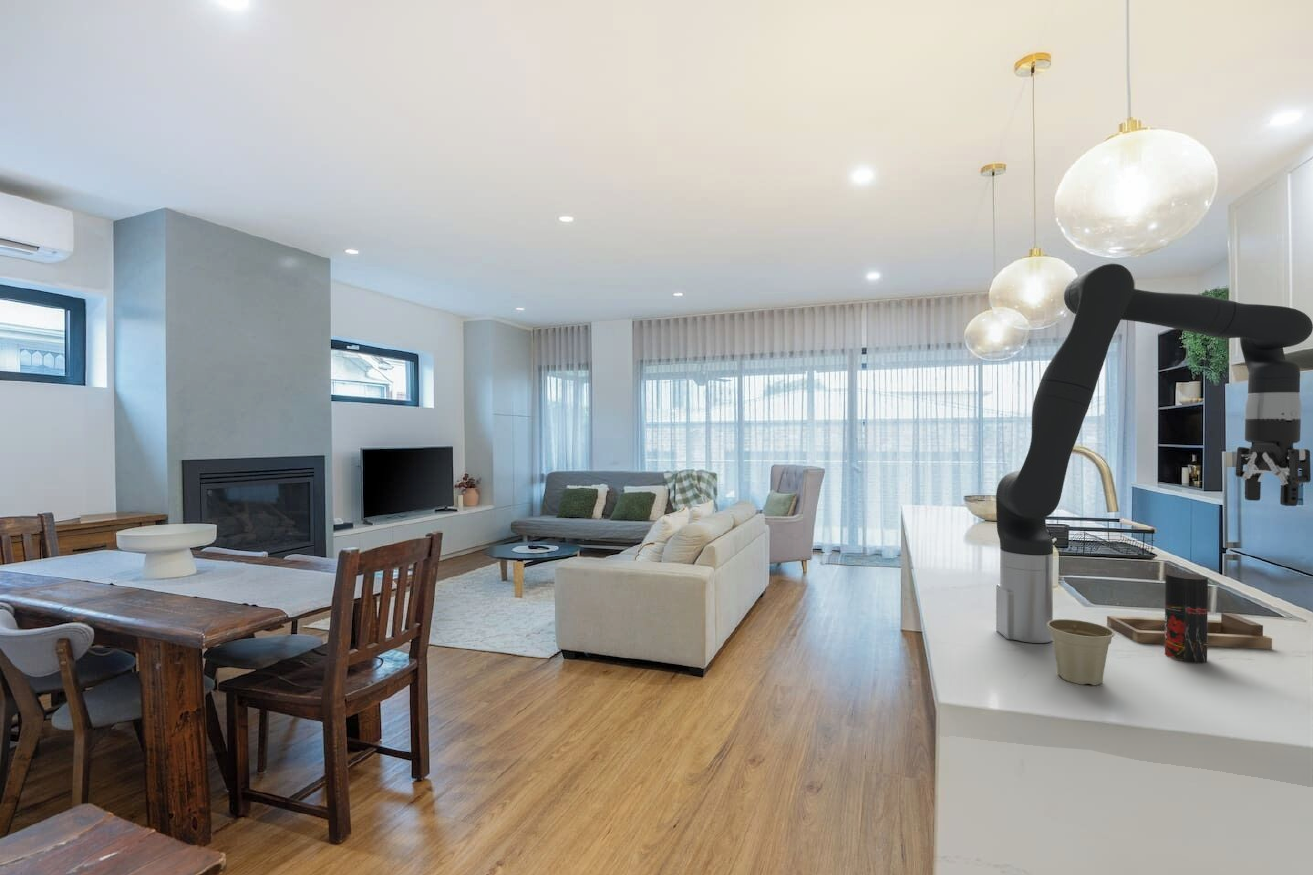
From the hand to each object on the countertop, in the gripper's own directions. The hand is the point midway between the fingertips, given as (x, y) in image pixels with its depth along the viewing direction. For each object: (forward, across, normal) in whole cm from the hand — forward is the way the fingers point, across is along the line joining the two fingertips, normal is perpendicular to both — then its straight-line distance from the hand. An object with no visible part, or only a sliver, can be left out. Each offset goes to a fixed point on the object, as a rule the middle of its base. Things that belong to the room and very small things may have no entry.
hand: (1270, 502), depth 119 cm
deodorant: (+28, +7, -18) cm, 34 cm away
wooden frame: (+28, -6, -10) cm, 30 cm away
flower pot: (+29, +21, -42) cm, 55 cm away
